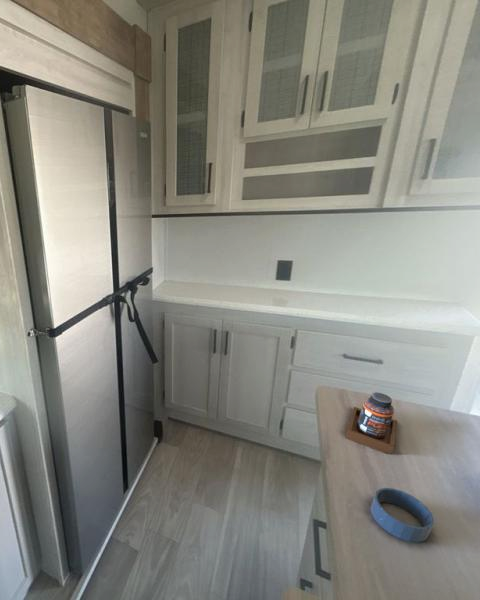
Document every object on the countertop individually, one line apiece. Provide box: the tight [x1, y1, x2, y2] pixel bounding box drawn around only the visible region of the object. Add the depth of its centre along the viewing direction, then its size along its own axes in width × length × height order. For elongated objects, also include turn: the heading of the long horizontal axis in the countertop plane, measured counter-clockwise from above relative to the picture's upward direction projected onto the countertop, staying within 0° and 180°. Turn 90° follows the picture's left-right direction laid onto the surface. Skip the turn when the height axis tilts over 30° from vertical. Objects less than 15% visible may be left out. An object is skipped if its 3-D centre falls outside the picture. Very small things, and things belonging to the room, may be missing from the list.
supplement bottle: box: [357, 391, 395, 439], centre depth 85 cm, size 6×6×11 cm
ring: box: [369, 487, 435, 544], centre depth 66 cm, size 8×8×5 cm
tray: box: [344, 406, 398, 455], centre depth 87 cm, size 12×9×2 cm
